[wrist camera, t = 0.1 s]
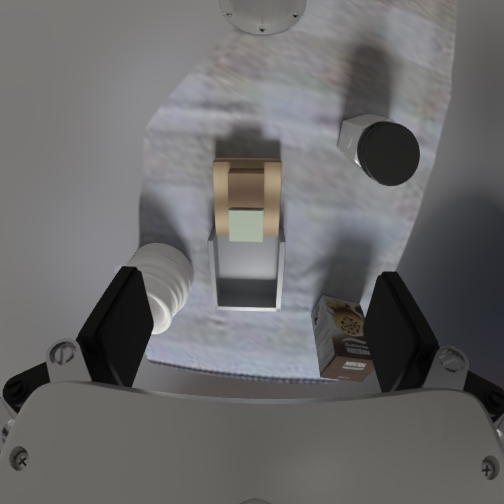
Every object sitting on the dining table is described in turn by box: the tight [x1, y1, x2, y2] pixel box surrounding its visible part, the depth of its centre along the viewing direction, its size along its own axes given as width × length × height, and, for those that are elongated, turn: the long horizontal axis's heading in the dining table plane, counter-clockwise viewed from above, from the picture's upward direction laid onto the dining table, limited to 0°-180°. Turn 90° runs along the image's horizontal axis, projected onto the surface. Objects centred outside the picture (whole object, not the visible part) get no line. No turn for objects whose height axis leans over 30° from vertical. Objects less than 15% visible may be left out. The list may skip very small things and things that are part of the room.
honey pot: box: [127, 243, 194, 334], centre depth 47 cm, size 13×13×18 cm
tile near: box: [228, 168, 264, 208], centre depth 42 cm, size 5×5×3 cm
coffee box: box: [311, 295, 375, 382], centre depth 52 cm, size 9×6×16 cm
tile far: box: [229, 207, 264, 242], centre depth 45 cm, size 5×5×3 cm
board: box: [213, 158, 282, 236], centre depth 46 cm, size 12×10×3 cm
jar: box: [337, 114, 420, 186], centre depth 36 cm, size 9×8×12 cm
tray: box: [208, 227, 285, 311], centre depth 51 cm, size 14×12×5 cm
